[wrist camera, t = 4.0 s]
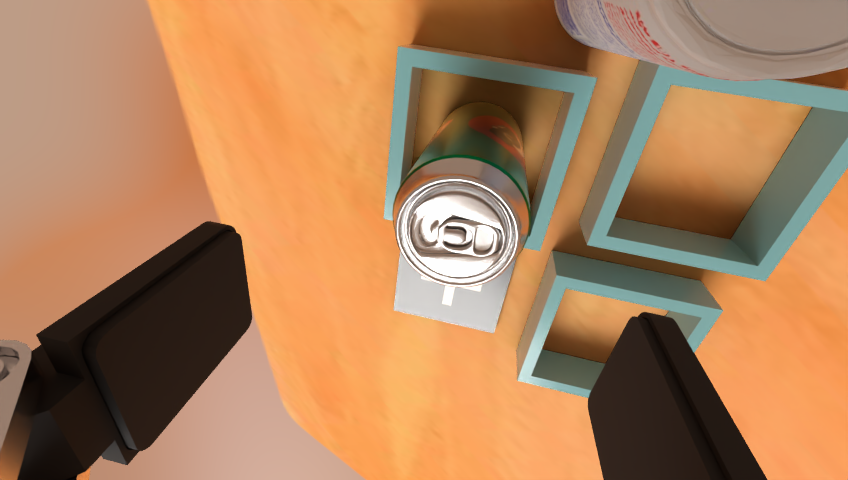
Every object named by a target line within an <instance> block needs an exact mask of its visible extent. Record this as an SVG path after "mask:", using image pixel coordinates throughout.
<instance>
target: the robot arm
mask: <svg viewBox="0 0 848 480" xmlns="http://www.w3.org/2000/svg"><path fill="white" fill-rule="evenodd" d="M251 320H252V311H251V304H250V297H249V290H248V282H247V275H246V268H245V261H244V254H243V246H242V239H241V236H240V235H239V234H238V233H236V230H235V229H234V227H232V226H230V225H225V224H220V223H215V222H211V221H210V222H205V223H203V224H201V225H200V226H198V227H197V228H196V229H194V230H192V231H191V232H189V233H188V234H186V235H185V236H183V237H182V238H181V239H179V240H177V241H176V242H175V243H173V244H171V245H170V246H168V247H167V248H165V249H164V250H162V251H161V252H159V253H158V254H157V255H155V256H153V257H152V258H151V259H149V260H147V261H146V262H144V263H143V264H141V265H140V266H138V267H137V268H135V269H134V270H132V271H131V272H129V273H128V274H126V275H125V276H123V277H122V278H120V279H119V280H117V281H116V282H114V283H113V284H111V285H110V286H109V287H107V288H106V289H104V290H102V291H101V292H100V293H98V294H97V295H95V296H94V297H92V298H91V299H89V300H87V301H86V302H85V303H83V304H81V305H80V306H79V307H77V308H75V309H74V310H73V311H71V312H70V313H68V314H67V315H65V316H64V317H62V318H61V319H59V320H58V321H56V322H55V323H53V324H52V325H50V326H49V327H47V328H46V329H44V330H43V331H41V332H40V333H38V334H37V337H38V339H39V341H40V343H41V345H40V346H39V347H37V348H36V349H35V350H33V351H31V349H30V348H29V347H28V346H27V344H24V343H22V342H19V341H15V340H0V480H89V475H90V468H91V465H92V464H93V463H94V462H95V461H96V460H97V459H98V458H99V457H100V456H102V457H103V459H106V460H110V461H114V462H118V463H121V464H125V465H128V464H129V463H130V461H131V460H132V459H133V458H134V457H135V456H136V454H137V453H138V452H139V451H143V450H145V449H147V448H148V447H150V446H151V444H152V443H153V442H154V441H155V440H156V439H157V438H158V436H159V435H160V434H161V433H162V432H163V430H164V429H165V428H166V427H167V426H168V424H169V423H170V422H171V421H172V419H173V418H174V417H175V416H176V415H177V414H178V412H179V411H180V410H181V409H182V407H183V406H184V405H185V404H186V403H187V402H188V400H189V399H190V398H191V397H192V396H193V394H194V393H195V392H196V391H197V390H198V388H199V387H200V386H201V385H202V383H203V382H204V381H205V380H206V379H207V378H208V376H209V375H210V374H211V373H212V371H213V370H214V369H215V368H216V367H217V366H218V364H219V363H220V362H221V361H222V359H223V358H224V357H225V356H226V355H227V354H228V352H229V351H230V350H231V349H232V348H233V346H234V345H235V344H236V343H237V342H238V340H239V339H240V338H241V336H242V335H243V334H244V333H245V332H246V330H247V329H248V328H249V326H250V324H251ZM588 410H589V415H590V419H591V424H592V429H593V433H594V438H595V442H596V447H597V451H598V456H599V460H600V465H601V469H602V474H603V478H604V480H767V478H766V476H765V475H764V473H763V471H762V470H761V468H760V466H759V464H758V463H757V461H756V459H755V457H754V456H753V454H752V452H751V451H750V449H749V447H748V445H747V444H746V442H745V440H744V438H743V437H742V435H741V433H740V432H739V430H738V428H737V426H736V425H735V423H734V421H733V419H732V418H731V416H730V414H729V412H728V411H727V409H726V407H725V406H724V404H723V402H722V400H721V399H720V397H719V395H718V393H717V392H716V390H715V388H714V387H713V385H712V383H711V381H710V380H709V378H708V376H707V374H706V373H705V371H704V369H703V368H702V366H701V364H700V362H699V361H698V359H697V357H696V355H695V354H694V352H693V350H692V348H691V347H690V345H689V343H688V342H687V340H686V338H685V336H684V335H683V333H682V331H681V329H680V328H679V326H678V324H677V323H676V321H675V320H674V319H673V318H671V317H666V316H662V315H657V314H652V313H647V312H643V313H641V314H640V315H639V316H638V317H632V318H630V320H629V321H628V323H627V325H626V327H625V328H624V330H623V332H622V334H621V336H620V338H619V340H618V342H617V343H616V345H615V347H614V349H613V351H612V353H611V355H610V356H609V358H608V360H607V362H606V364H605V366H604V368H603V370H602V371H601V373H600V375H599V377H598V379H597V381H596V383H595V385H594V386H593V388H592V390H591V392H590V394H589V398H588Z"/></svg>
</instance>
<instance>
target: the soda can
mask: <svg viewBox="0 0 848 480" xmlns="http://www.w3.org/2000/svg"><path fill="white" fill-rule="evenodd" d="M392 216H393V225H394V229H395V234H396V240H397V244H398V247H399V249H400V251H401V253H402V255H403V256H404V258H405V260H406V261H407V262H408V263H409V265H410V266H411V267H412V268H413V269H414V270H416V271H417V272H418V273H419V274H421V275H422V276H424V277H425V278H427V279H429V280H431V281H433V282H436V283H438V284H441V285H446V286H450V287H472V286H478V285H481V284H484V283H487V282H489V281H491V280H493V279H495V278H496V277H498V276H499V275H501V274H502V273H503V272H504V271H505V270H506V269H507V268H508V267H509V266H510V264H511V263H512V262H513V261H514V260H515V259H516V258H517V256H518V255H519V254H520V252H521V251H522V250H523V248H524V246H525V244H526V242H527V239H528V236H529V233H530V226H531V212H530V203H529V194H528V185H527V177H526V168H525V159H524V150H523V142H522V135H521V131H520V128H519V126H518V124H517V122H516V121H515V119H514V118H513V117H512V116H511V114H510V113H509V112H507V111H506V110H505V109H503V108H501V107H500V106H498V105H495V104H492V103H487V102H473V103H468V104H465V105H463V106H461V107H459V108H457V109H456V110H454V111H453V112H452V113H451V114H450V115H449V116H448V117H447V118H446V119H445V121H444V122H443V123H442V125H441V126H440V128H439V129H438V131H437V132H436V134H435V135H434V137H433V138H432V139H431V141H430V142H429V144H428V145H427V147H426V148H425V150H424V151H423V153H422V154H421V156H420V157H419V159H418V160H417V161H416V163H415V164H414V166H413V167H412V169H411V170H410V172H409V173H408V175H407V176H406V178H405V179H404V180H403V182H402V183H401V185H400V187H399V189H398V191H397V193H396V195H395V199H394V203H393V211H392Z"/></svg>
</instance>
